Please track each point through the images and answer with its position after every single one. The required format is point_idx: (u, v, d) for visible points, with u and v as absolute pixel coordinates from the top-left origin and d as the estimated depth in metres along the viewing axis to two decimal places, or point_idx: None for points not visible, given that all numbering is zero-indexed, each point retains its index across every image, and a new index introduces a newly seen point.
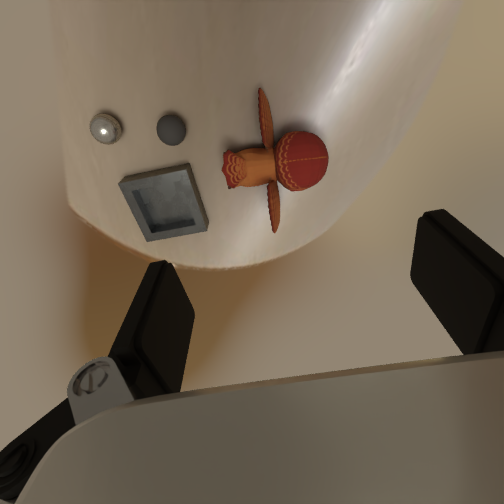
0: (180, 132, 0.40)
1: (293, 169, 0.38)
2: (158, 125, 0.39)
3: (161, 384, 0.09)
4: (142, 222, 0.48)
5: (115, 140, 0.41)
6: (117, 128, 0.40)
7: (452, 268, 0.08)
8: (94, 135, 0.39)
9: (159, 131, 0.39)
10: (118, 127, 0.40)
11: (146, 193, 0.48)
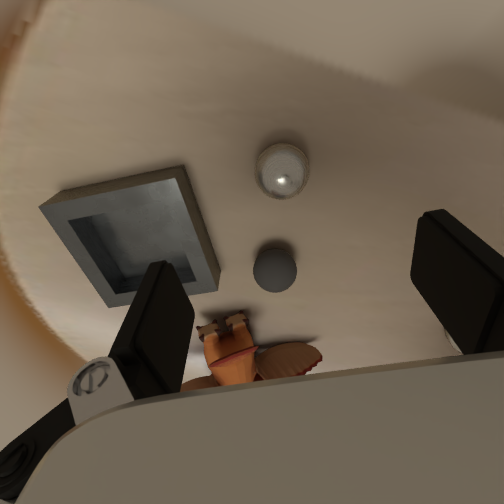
0: None
1: None
2: (286, 265, 0.25)
3: (161, 384, 0.09)
4: (89, 207, 0.22)
5: (263, 192, 0.21)
6: None
7: (452, 268, 0.08)
8: (278, 165, 0.19)
9: (279, 271, 0.24)
10: None
11: (156, 204, 0.24)
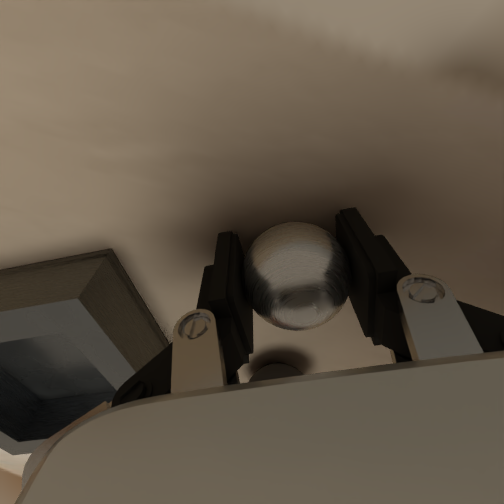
0: None
1: None
2: None
3: (242, 340, 0.09)
4: None
5: None
6: None
7: (352, 258, 0.10)
8: (292, 283, 0.09)
9: None
10: None
11: None
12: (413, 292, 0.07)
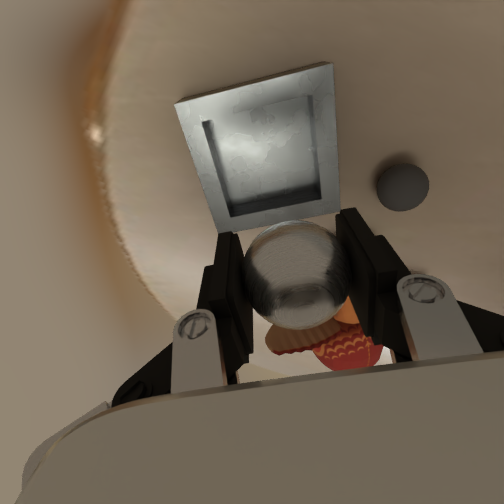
0: (403, 210, 0.25)
1: (359, 356, 0.29)
2: (424, 177, 0.23)
3: (242, 340, 0.09)
4: (230, 104, 0.20)
5: None
6: None
7: (352, 258, 0.10)
8: (292, 282, 0.09)
9: (417, 181, 0.23)
10: None
11: (285, 110, 0.22)
12: (413, 292, 0.07)
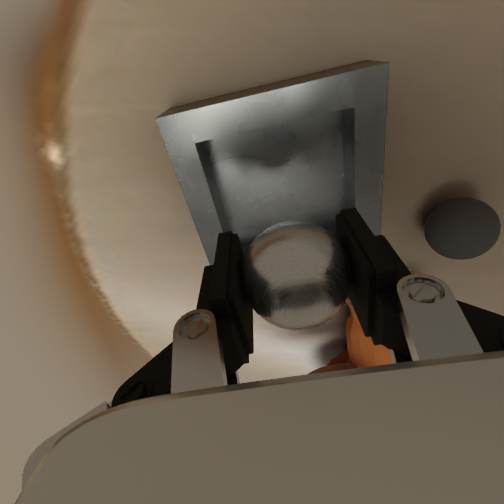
0: None
1: None
2: (495, 218, 0.17)
3: (242, 340, 0.09)
4: (235, 119, 0.14)
5: None
6: None
7: (352, 258, 0.10)
8: (293, 283, 0.09)
9: (488, 224, 0.17)
10: None
11: (311, 127, 0.16)
12: (413, 292, 0.07)
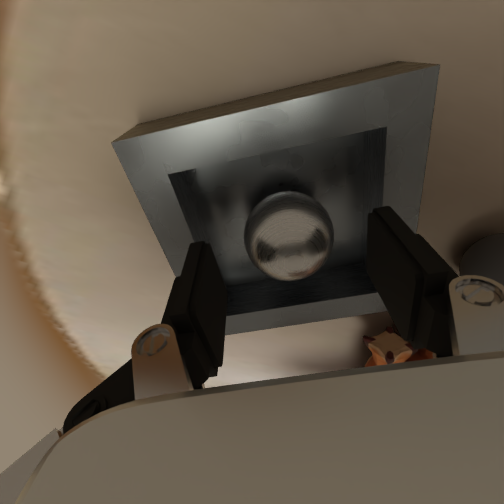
0: None
1: None
2: None
3: (208, 353, 0.09)
4: (222, 143, 0.10)
5: (259, 269, 0.13)
6: None
7: (390, 259, 0.09)
8: (285, 236, 0.11)
9: None
10: None
11: (323, 148, 0.13)
12: (467, 294, 0.07)
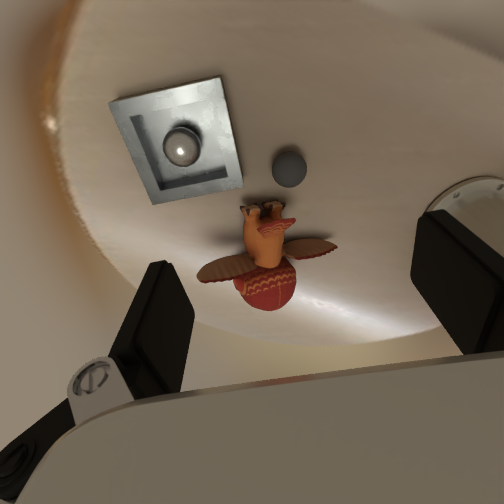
0: (290, 186, 0.33)
1: (272, 293, 0.36)
2: (300, 161, 0.32)
3: (161, 384, 0.09)
4: (149, 104, 0.28)
5: (170, 161, 0.31)
6: (185, 166, 0.31)
7: (452, 268, 0.08)
8: (173, 141, 0.29)
9: (294, 164, 0.31)
10: None
11: (196, 109, 0.30)
12: None
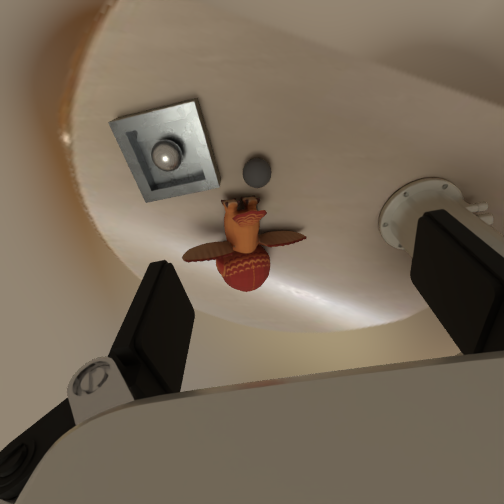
0: (257, 187, 0.40)
1: (246, 274, 0.43)
2: (264, 166, 0.38)
3: (161, 384, 0.09)
4: (140, 122, 0.35)
5: (157, 167, 0.38)
6: None
7: (452, 268, 0.08)
8: (158, 151, 0.36)
9: (259, 168, 0.38)
10: None
11: (179, 125, 0.38)
12: None
